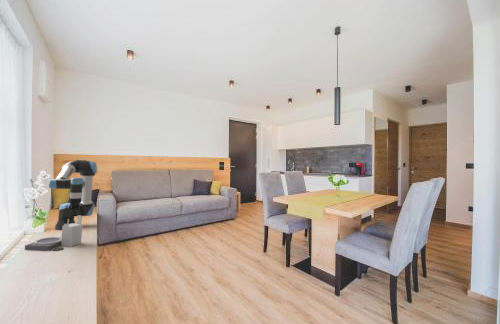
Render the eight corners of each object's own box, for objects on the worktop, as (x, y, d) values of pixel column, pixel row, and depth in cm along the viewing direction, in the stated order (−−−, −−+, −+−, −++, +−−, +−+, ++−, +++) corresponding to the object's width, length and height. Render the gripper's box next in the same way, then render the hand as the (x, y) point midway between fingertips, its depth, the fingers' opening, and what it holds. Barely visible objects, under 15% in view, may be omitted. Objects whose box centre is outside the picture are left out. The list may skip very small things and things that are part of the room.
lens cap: (56, 248, 161) (56, 247, 161) (65, 248, 161) (65, 247, 161) (50, 251, 155) (50, 250, 155) (59, 251, 155) (59, 250, 155)
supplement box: (81, 243, 173) (83, 223, 174) (71, 247, 164) (73, 226, 165) (71, 242, 174) (72, 222, 175) (60, 245, 165) (62, 225, 166)
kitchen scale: (47, 240, 173) (48, 235, 173) (69, 241, 174) (69, 236, 174) (24, 249, 154) (25, 243, 154) (48, 250, 155) (49, 244, 155)
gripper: (81, 195, 183) (79, 221, 182) (57, 199, 158) (54, 229, 157) (91, 196, 183) (88, 222, 182) (68, 200, 158) (65, 230, 157)
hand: (72, 225), depth 169 cm, fingers open, 13 cm apart
